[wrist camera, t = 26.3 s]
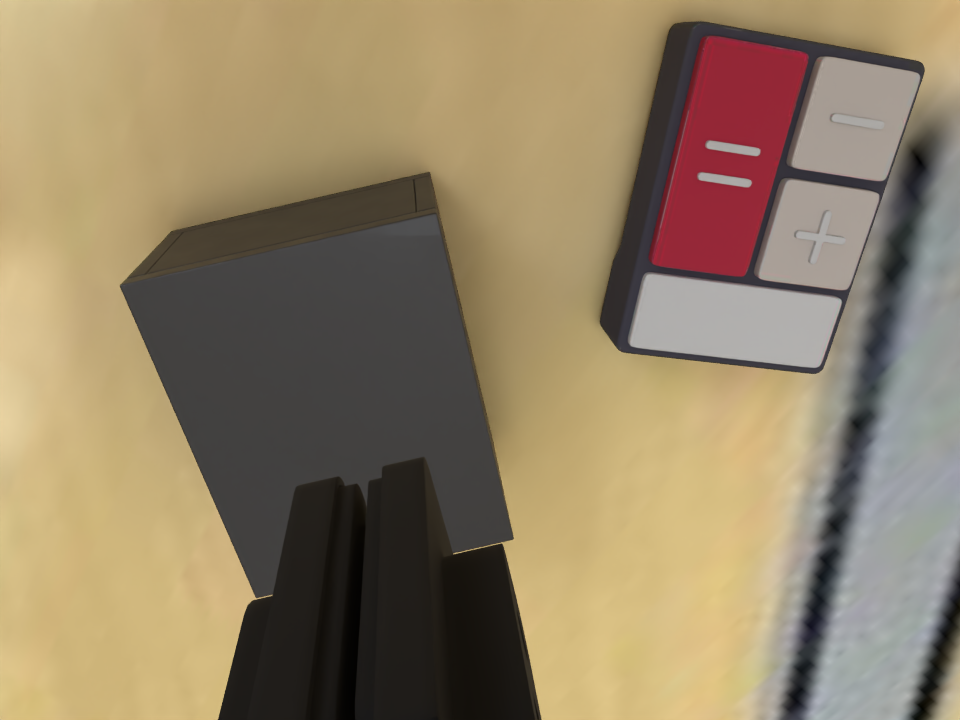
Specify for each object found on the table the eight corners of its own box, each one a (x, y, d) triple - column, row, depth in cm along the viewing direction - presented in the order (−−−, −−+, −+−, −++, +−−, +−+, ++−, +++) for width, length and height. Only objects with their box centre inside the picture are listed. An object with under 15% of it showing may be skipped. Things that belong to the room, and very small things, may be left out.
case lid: (511, 529, 38) (514, 539, 37) (258, 587, 38) (255, 598, 37) (436, 207, 31) (436, 212, 30) (125, 278, 31) (118, 285, 30)
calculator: (941, 62, 33) (830, 382, 39) (883, 60, 37) (789, 350, 43) (699, 18, 32) (618, 358, 37) (665, 21, 36) (597, 328, 41)
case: (493, 445, 44) (509, 518, 38) (274, 495, 44) (254, 577, 38) (429, 171, 37) (435, 206, 31) (170, 230, 37) (125, 278, 31)
